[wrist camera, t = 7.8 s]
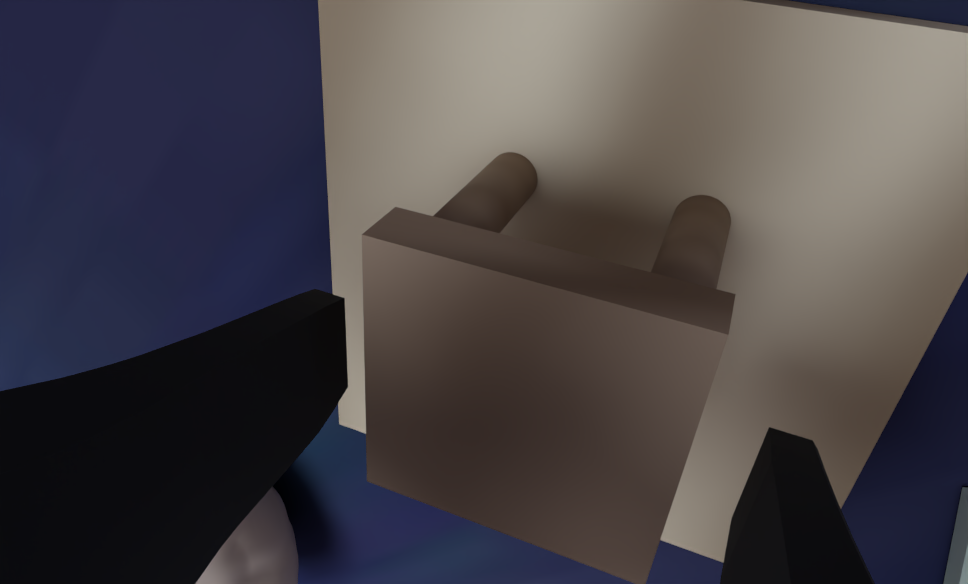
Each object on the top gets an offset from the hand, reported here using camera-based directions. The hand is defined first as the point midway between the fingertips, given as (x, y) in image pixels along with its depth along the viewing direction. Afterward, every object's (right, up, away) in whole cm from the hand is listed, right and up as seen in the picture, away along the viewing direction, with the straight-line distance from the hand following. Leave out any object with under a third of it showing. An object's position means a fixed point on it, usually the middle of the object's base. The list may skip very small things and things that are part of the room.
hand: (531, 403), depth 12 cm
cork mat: (+2, +2, +3) cm, 4 cm away
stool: (+1, +2, +2) cm, 3 cm away
